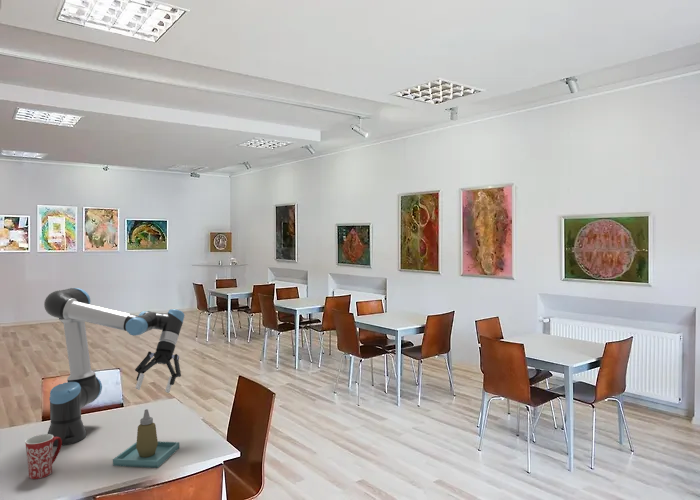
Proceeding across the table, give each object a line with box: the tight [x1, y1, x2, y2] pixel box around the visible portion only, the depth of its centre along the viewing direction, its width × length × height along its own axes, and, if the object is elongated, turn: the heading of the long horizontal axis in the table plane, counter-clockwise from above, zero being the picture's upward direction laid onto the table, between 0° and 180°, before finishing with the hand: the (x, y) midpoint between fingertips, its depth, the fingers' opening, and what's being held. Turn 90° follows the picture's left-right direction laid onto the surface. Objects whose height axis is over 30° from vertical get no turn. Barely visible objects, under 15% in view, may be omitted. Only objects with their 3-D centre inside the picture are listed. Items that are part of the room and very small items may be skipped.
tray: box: [112, 440, 180, 469], centre depth 200 cm, size 18×18×2 cm
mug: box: [24, 433, 63, 480], centre depth 187 cm, size 13×9×14 cm
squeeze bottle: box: [135, 409, 158, 457], centre depth 200 cm, size 8×8×18 cm
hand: (152, 390), depth 214 cm, fingers open, 13 cm apart
